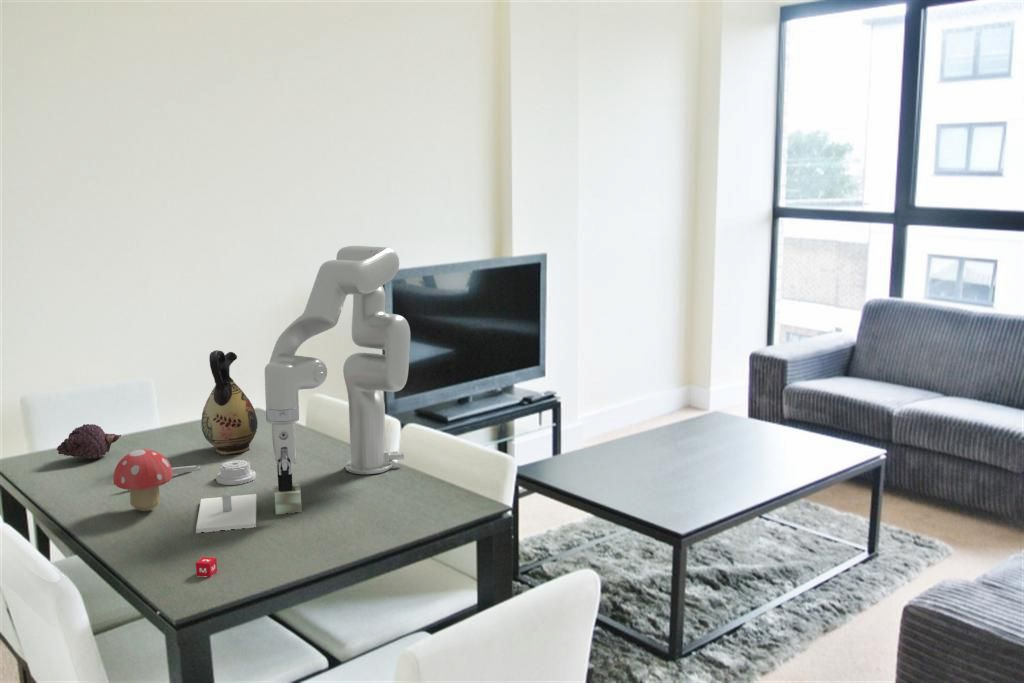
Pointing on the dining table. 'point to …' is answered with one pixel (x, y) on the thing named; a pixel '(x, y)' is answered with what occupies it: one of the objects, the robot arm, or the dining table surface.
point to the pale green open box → (288, 500)
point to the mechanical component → (235, 473)
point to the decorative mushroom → (143, 477)
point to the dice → (206, 566)
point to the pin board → (227, 513)
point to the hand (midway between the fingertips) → (284, 484)
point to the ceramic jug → (227, 410)
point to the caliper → (185, 469)
